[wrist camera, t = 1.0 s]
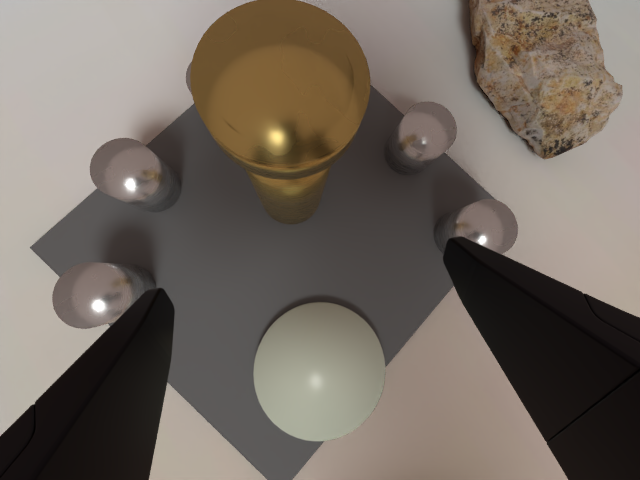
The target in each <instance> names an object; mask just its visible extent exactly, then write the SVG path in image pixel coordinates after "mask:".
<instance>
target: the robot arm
mask: <svg viewBox="0 0 640 480" xmlns="http://www.w3.org/2000/svg"><path fill="white" fill-rule="evenodd" d="M443 262H444V265H445V267H446V269H447V271H448V274H449V276H450V278H451V280H452V282H453V284H454V287H455V289H456V291H457V293H458V295H459V297H460V299H461V301H462V303H463V305H464V307H465V308H466V310H467V312H468V313H469V315H470V317H471V318H472V320H473V322H474V323H475V325H476V327H477V328H478V330H479V332H480V333H481V335H482V337H483V338H484V340H485V342H486V343H487V345H488V347H489V348H490V350H491V351H492V353H493V355H494V356H495V358H496V360H497V361H498V363H499V365H500V366H501V368H502V370H503V371H504V373H505V375H506V376H507V378H508V380H509V381H510V383H511V385H512V386H513V388H514V390H515V391H516V393H517V395H518V396H519V398H520V400H521V401H522V403H523V405H524V406H525V408H526V410H527V411H528V413H529V414H530V416H531V418H532V419H533V421H534V423H535V424H536V426H537V428H538V429H539V431H540V433H541V434H542V436H543V438H544V439H545V441H546V442H547V445H548V446H549V448H550V450H551V451H552V453H553V455H554V456H555V458H556V460H557V461H558V463H559V465H560V466H561V468H562V470H563V471H564V473H565V475H566V476H567V478H568V480H640V318H639V317H636V316H634V315H632V314H629V313H627V312H625V311H622V310H620V309H618V308H616V307H613V306H611V305H609V304H607V303H605V302H602V301H600V300H598V299H596V298H594V297H592V296H589V295H587V294H583V293H582V292H581V291H579V290H576V289H574V288H572V287H570V286H568V285H566V284H564V283H561V282H559V281H557V280H555V279H553V278H551V277H549V276H546V275H544V274H542V273H540V272H538V271H536V270H534V269H531V268H529V267H527V266H525V265H523V264H521V263H519V262H516V261H514V260H512V259H510V258H508V257H506V256H504V255H501V254H499V253H497V252H495V251H493V250H491V249H489V248H486V247H484V246H482V245H480V244H478V243H476V242H474V241H471V240H469V239H467V238H465V237H463V236H457V237H452V238H449V239H448V240H447V243H446V247H445V251H444V254H443ZM174 317H175V308H174V305H173V303H172V301H171V300H170V298H169V296H168V295H167V293H166V291H165V290H164V289H163V288H154V289H149V290H147V291H145V292H144V293H143V294H142V295H141V296H140V297H139V298H138V299H137V300H136V301H135V302H134V303H133V304H132V305H131V306H130V307H129V308H128V309H127V310H126V311H125V312H124V313H123V314H122V315H121V316H120V317H119V318H118V319H117V320H116V321H115V322H114V323H113V324H112V325H111V326H110V327H109V328H108V329H107V330H106V331H105V332H104V333H103V334H102V335H101V336H100V337H99V338H98V339H97V340H96V341H95V342H94V343H93V344H92V345H91V346H90V347H89V348H88V349H87V350H86V351H85V352H84V353H83V354H82V355H81V356H80V357H79V358H78V359H77V360H76V361H75V362H74V363H73V364H72V365H71V366H70V367H69V368H68V369H67V370H66V371H65V372H64V373H63V374H62V375H61V376H60V377H59V378H58V379H57V380H56V381H55V382H54V383H53V384H52V385H51V386H50V387H49V388H48V389H47V390H46V392H45V393H44V394H43V395H42V396H41V397H40V398H39V399H38V400H37V401H36V402H35V404H34V405H31V406H30V407H29V408H28V409H27V410H26V411H25V412H24V413H23V414H22V415H21V416H20V417H19V418H18V419H17V420H16V421H15V422H14V423H13V424H12V425H11V426H10V427H9V428H8V429H7V430H6V431H5V432H4V433H3V434H2V435H1V436H0V480H149V475H150V470H151V465H152V460H153V454H154V449H155V444H156V439H157V433H158V428H159V423H160V418H161V412H162V407H163V402H164V396H165V391H166V386H167V381H168V375H169V370H170V364H171V358H172V346H173V331H174Z"/></svg>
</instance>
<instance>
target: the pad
mask: <svg viewBox="0 0 640 480" xmlns="http://www.w3.org/2000/svg"><path fill="white" fill-rule="evenodd" d="M253 376H254V386H255V391H256V394H257V397H258V400H259V403H260V405H261V407H262V409H263V410H264V412H265V413H266V415H267V416H268V417H269V419H270V420H271V421H272V422H273V423H274V424H275V425H276V426H277V427H279V428H280V429H281V430H283V431H284V432H286V433H287V434H289V435H291V436H294V437H296V438H299V439H303V440H308V441H328V440H333V439H336V438H340V437H342V436H344V435H347V434H349V433H350V432H352V431H353V430H355V429H356V428H358V427H359V426H360V425H361V424H362V423H363V422H364V421H365V420H366V419H367V418H368V417H369V416H370V415H371V413H372V412H373V410H374V409H375V407H376V405H377V403H378V401H379V399H380V396H381V394H382V391H383V387H384V381H385V359H384V354H383V350H382V347H381V344H380V342H379V340H378V338H377V336H376V334H375V332H374V331H373V330H372V328H371V327H370V326H369V325H368V323H367V322H366V321H365V320H364V319H362V318H361V317H360V316H359V315H358V314H356V313H354V312H353V311H351V310H350V309H348V308H345V307H343V306H341V305H337V304H334V303H328V302H313V303H307V304H303V305H300V306H297V307H295V308H293V309H291V310H289V311H287V312H286V313H284V314H283V315H282V316H280V317H279V318H278V319H277V320H276V321H275V322H274V323H273V324H272V325H271V326H270V328H269V329H268V330H267V332H266V333H265V335H264V337H263V338H262V340H261V343H260V345H259V347H258V350H257V353H256V356H255V362H254V372H253Z"/></svg>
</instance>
